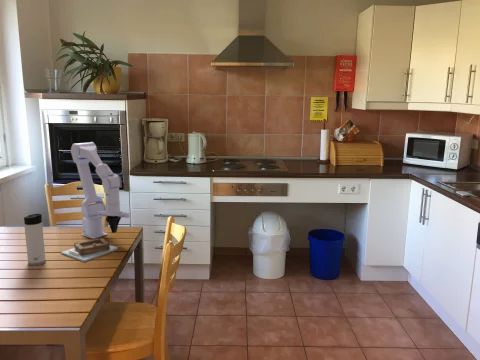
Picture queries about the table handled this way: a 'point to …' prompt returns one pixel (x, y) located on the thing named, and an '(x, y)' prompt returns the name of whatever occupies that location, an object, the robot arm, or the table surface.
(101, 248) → the frame
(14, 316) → the table surface
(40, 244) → the travel mug
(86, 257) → the wall board
